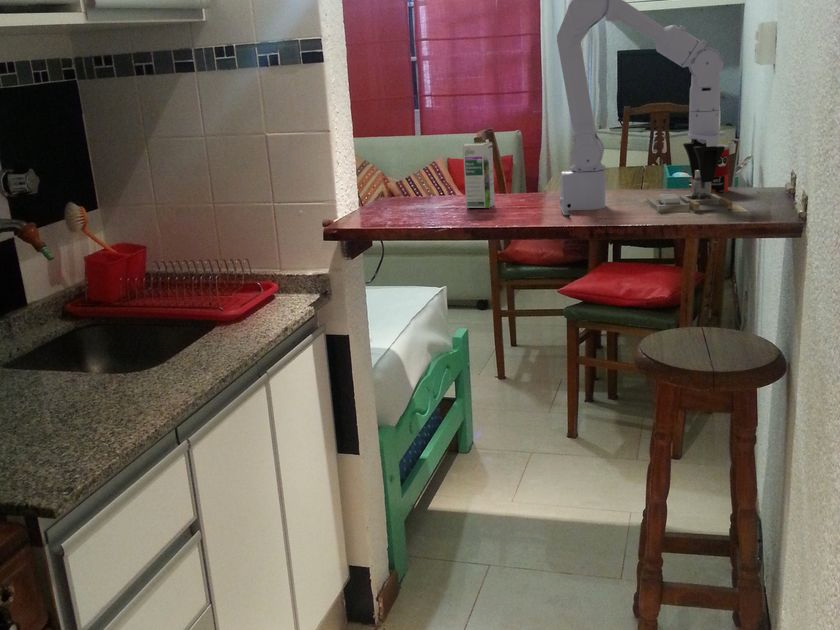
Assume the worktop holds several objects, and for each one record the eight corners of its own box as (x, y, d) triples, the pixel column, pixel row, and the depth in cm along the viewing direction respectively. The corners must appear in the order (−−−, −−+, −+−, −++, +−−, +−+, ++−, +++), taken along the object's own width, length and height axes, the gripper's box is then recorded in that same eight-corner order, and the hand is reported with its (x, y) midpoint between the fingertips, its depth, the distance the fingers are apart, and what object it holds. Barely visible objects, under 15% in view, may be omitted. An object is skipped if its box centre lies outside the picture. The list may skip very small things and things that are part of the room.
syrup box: (465, 209, 187) (462, 144, 183) (471, 204, 192) (468, 142, 188) (489, 209, 185) (487, 143, 181) (495, 204, 190) (492, 141, 186)
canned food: (688, 198, 181) (689, 148, 178) (694, 192, 188) (696, 144, 185) (724, 199, 178) (726, 147, 174) (729, 193, 184) (732, 143, 181)
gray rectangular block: (664, 210, 163) (664, 198, 163) (658, 205, 169) (658, 194, 168) (680, 210, 163) (680, 198, 162) (673, 205, 169) (673, 193, 168)
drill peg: (694, 206, 167) (695, 171, 165) (690, 203, 170) (691, 169, 168) (712, 205, 166) (713, 170, 164) (707, 202, 170) (709, 168, 168)
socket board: (658, 220, 160) (658, 206, 159) (642, 205, 176) (643, 192, 175) (748, 216, 158) (748, 201, 158) (724, 201, 175) (724, 188, 174)
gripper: (735, 111, 155) (732, 183, 159) (715, 107, 169) (713, 173, 173) (697, 114, 156) (695, 185, 160) (680, 109, 170) (679, 175, 174)
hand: (702, 179), depth 167 cm, fingers open, 7 cm apart
